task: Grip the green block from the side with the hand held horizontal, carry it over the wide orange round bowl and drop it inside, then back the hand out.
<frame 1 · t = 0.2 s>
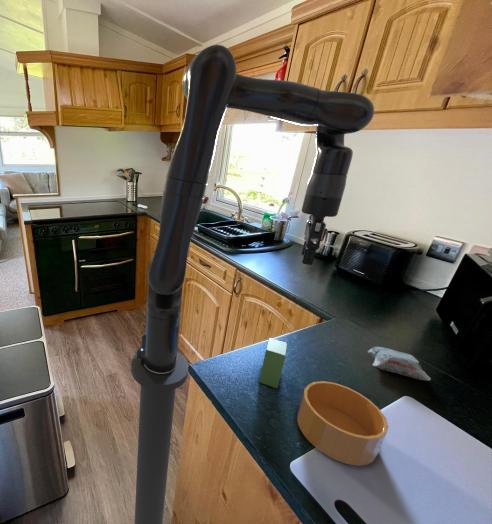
hand: (306, 259, 73), 30 cm above the countertop, tool pointing down, fingers open, 8 cm apart
green block: (269, 378, 75), on the countertop
packaged food: (393, 371, 80), on the countertop
orange round bowl: (334, 432, 61), on the countertop
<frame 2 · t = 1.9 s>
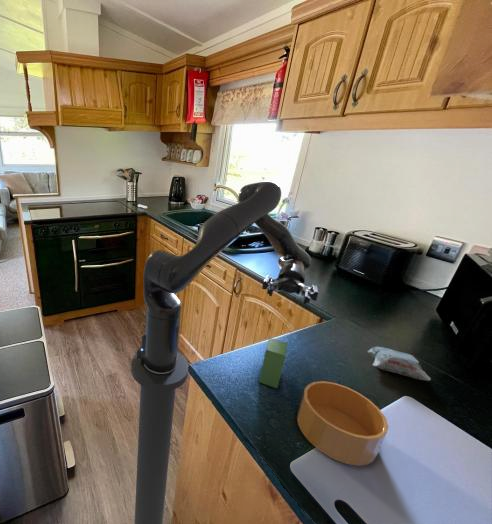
hand: (287, 296, 78), 19 cm above the countertop, tool horizontal, fingers open, 8 cm apart
nothing on the countertop moved.
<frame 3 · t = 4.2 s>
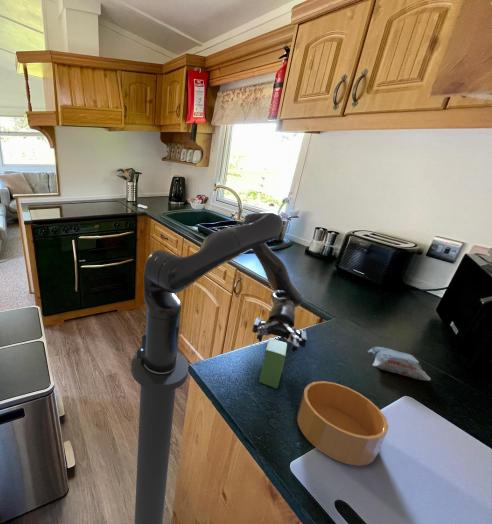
hand: (276, 343, 80), 6 cm above the countertop, tool horizontal, fingers open, 8 cm apart
nothing on the countertop moved.
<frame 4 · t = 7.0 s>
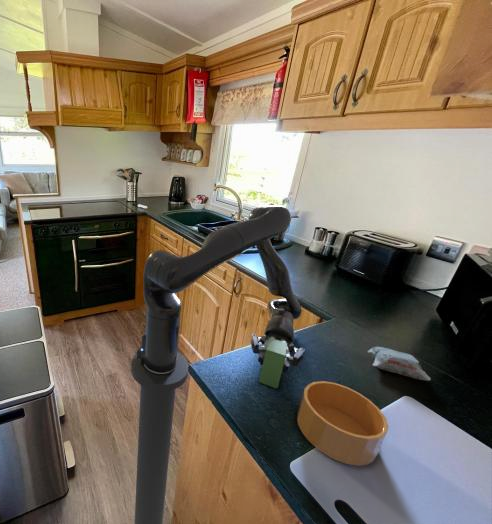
hand: (272, 365, 71), 6 cm above the countertop, tool horizontal, fingers closed on green block, 4 cm apart
green block: (269, 378, 75), on the countertop, touching gripper
everything else where it was.
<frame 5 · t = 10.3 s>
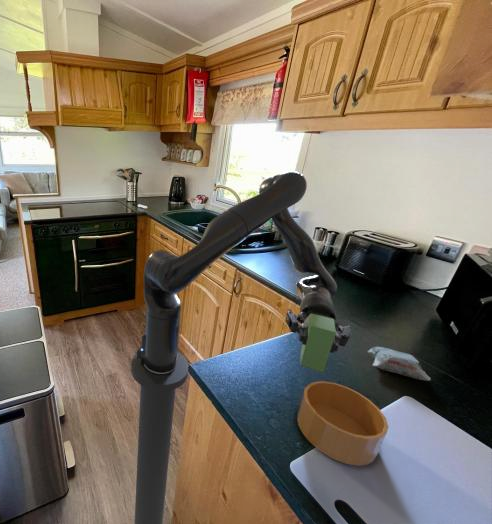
hand: (318, 344, 60), 18 cm above the countertop, tool horizontal, fingers closed on green block, 4 cm apart
green block: (311, 361, 64), point 12 cm above the countertop, touching gripper
everything else where it was.
when the fingers open (8 cm above the countertop, at t = 14.1 s): green block drops 2 cm, resting on orange round bowl.
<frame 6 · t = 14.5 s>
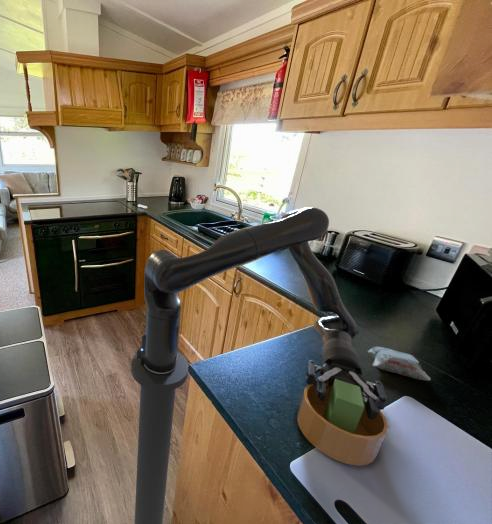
hand: (346, 406, 56), 9 cm above the countertop, tool horizontal, fingers open, 7 cm apart
green block: (335, 429, 61), point 1 cm above the countertop, touching orange round bowl
everything else where it was.
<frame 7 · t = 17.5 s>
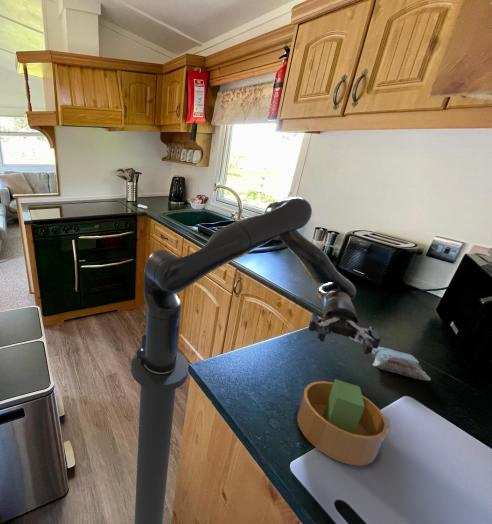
hand: (344, 344, 65), 15 cm above the countertop, tool horizontal, fingers open, 8 cm apart
nothing on the countertop moved.
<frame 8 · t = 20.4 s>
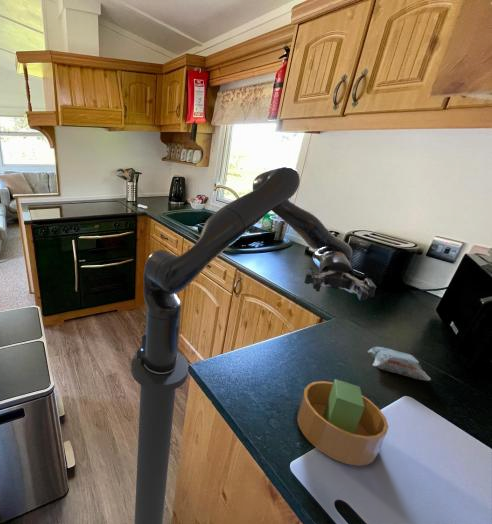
hand: (340, 292, 66), 26 cm above the countertop, tool horizontal, fingers open, 8 cm apart
nothing on the countertop moved.
at the end: green block inside the target area in the orange round bowl (0.0 cm from its centre), point 0.8 cm above the orange round bowl's base; the gripper is holding nothing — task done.
